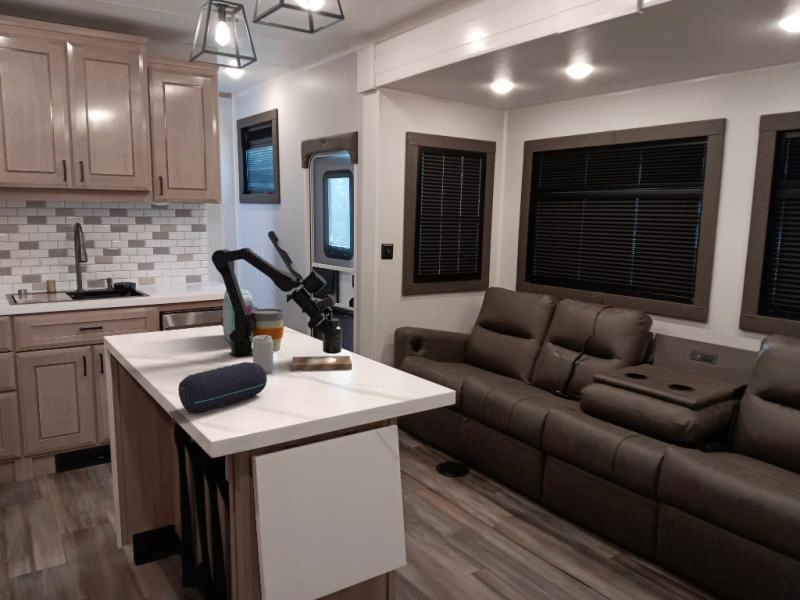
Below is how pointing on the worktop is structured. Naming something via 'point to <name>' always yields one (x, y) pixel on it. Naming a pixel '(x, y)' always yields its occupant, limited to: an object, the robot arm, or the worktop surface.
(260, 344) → the beverage can
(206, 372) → the portable speaker
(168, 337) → the worktop surface
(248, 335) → the robot arm
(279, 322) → the reusable coffee cup
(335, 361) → the walnut plinth
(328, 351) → the supplement bottle
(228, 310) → the lunch box
